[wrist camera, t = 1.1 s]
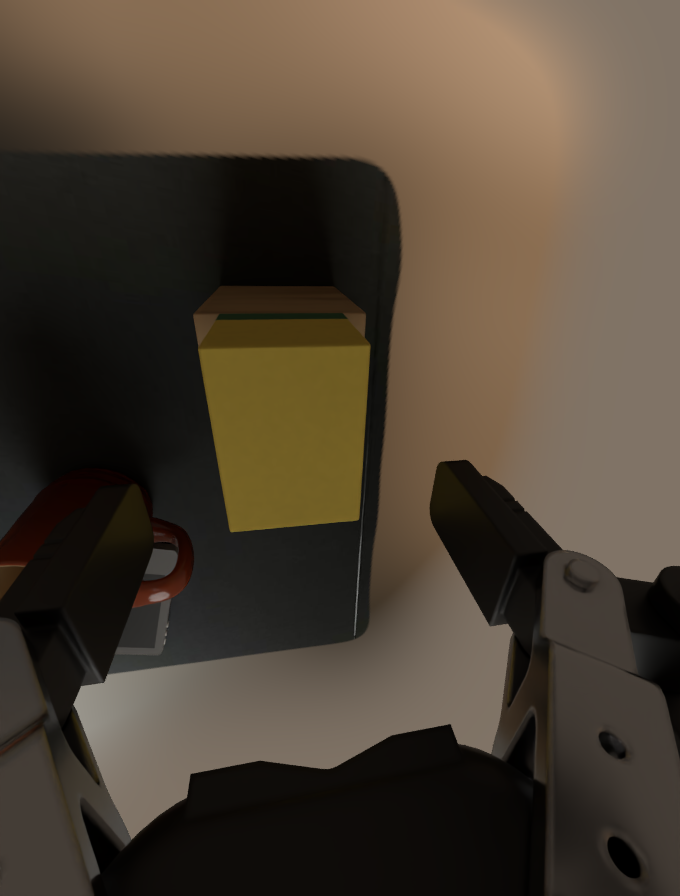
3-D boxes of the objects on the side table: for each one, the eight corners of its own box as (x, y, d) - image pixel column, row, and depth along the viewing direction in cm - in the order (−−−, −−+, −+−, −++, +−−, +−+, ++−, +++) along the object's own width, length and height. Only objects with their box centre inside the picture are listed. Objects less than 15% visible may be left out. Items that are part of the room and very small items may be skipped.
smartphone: (164, 649, 38) (162, 656, 37) (73, 647, 35) (70, 654, 35) (181, 545, 31) (179, 551, 31) (71, 533, 29) (67, 539, 28)
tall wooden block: (219, 285, 22) (192, 313, 14) (334, 286, 23) (366, 312, 15) (234, 394, 25) (218, 463, 18) (333, 390, 26) (358, 454, 19)
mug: (62, 547, 29) (-25, 678, 21) (18, 455, 25) (-116, 573, 16) (216, 534, 31) (195, 649, 23) (200, 446, 27) (167, 548, 18)
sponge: (218, 313, 14) (196, 346, 10) (343, 312, 15) (371, 343, 11) (239, 462, 18) (229, 533, 14) (339, 455, 19) (359, 520, 14)
